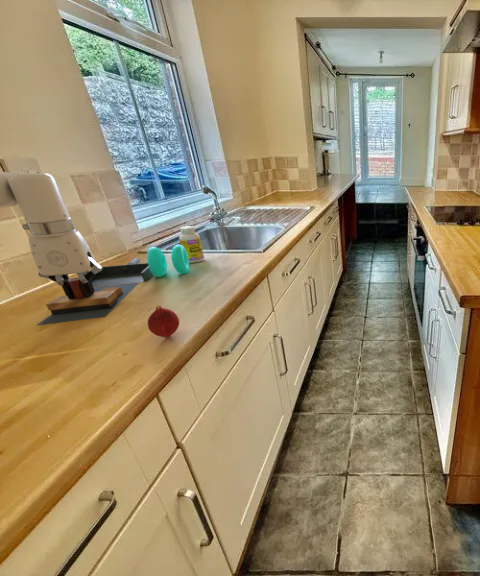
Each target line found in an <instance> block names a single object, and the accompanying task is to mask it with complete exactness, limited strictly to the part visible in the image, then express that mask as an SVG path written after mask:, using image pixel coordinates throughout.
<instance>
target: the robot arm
mask: <svg viewBox="0 0 480 576" xmlns="http://www.w3.org/2000/svg"><path fill="white" fill-rule="evenodd" d="M16 206H18V207H19V209H20V211H21V213H22V215H23V218H24V220H25V223H23V224H22V225H21V226H22V227H21V228H22V229H23V230H25V231H29V232H30V235H28V244H29V249H30V252H31V256H32V259H33V261H34V265H35V267H36V269H37V271H38V277H40V278H44V279H49V280H50V281H53V282H54V283H56V284H57V285H58V286H61V288H62V290H63V292H64V294H65V295H67V296H68V299H73V298H74V295H73V293H72V291H71V288H70V286H69V284H68V282H67V280H69V279H70V276H69V275H75V274H76V275H77V276H78V277H79V279H80V280H81V282H82V283H81V284H80V287H81V289H82V291H83V294H84V296H85V297H86V298H88V297H90V296H91V295H93V294H94V287H93V285H92V283H91V279H92V277H93V276H94V275H95V274H96V273H98V272H100V271H101V270H103V268H102V267H103V266H101V265H100V264H99V263H98V262H97V261H96V260H95V257H94V254H93V253H92V250H91V248H90V246H89V243H87V241H86V239H85V238H84V236H83V234H82V233H81V232H80V231H79V230H77V229H76V228H75V226H74V223H73V221H72V218H71V216H70V213H69V211H68V209H67V206H66V204H65V201H64V198H63V196H62V193H61V191H60V189H59V186H58V184H57V182H56V179H55V178H54V177H53V176H52V175H51V174H49V173H47V172H46V173H45V172H25V173H16V172H9V171H0V209H4V208H9V207H10V208H11V207H16ZM90 270H91V271H90Z"/></svg>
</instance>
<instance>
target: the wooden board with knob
mask: <svg viewBox="0 0 480 576" xmlns="http://www.w3.org/2000/svg"><path fill="white" fill-rule="evenodd" d="M67 282H68V284H69V286H70V288H71V291H72V293H73V295H74V298H73V299H68V296H67V295H66V294H65V295H57V296H56V297H54V298H53V299H51V300H50V301H48V302H46V303H45V305H46V308H47V310H48V311H50V312H51V314H52V315H57V314H66V313H75V312H83V311H92V310H101V309H109V308H111V307H112V306H113V305H115V304H116V303H117V302H118V300H117V294H116V291H115V290H112V291H103V292H94V294H93V295H91V296H90V297H88V298H86V297H85V296H84V294H83V291H82V289H81V287H80V284H81V283H82V282H81V280H80V279H79V277H72V278H69V280H67Z"/></svg>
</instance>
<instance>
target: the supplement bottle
mask: <svg viewBox="0 0 480 576" xmlns="http://www.w3.org/2000/svg"><path fill="white" fill-rule="evenodd" d="M179 231H180V233H181V234H179V236H178V240H179V245H182V246H183V247H184V248H185V250H186V252H187V255H188V260H189V264H195V263H199V262H202V261H204V260H205V255H204V250H203V245H202V241H201V237H200V235H199V233H197V232H196V228H195V226H193V225H186V226H185V225H184V226H181V227H179Z"/></svg>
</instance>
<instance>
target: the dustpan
mask: <svg viewBox="0 0 480 576" xmlns="http://www.w3.org/2000/svg"><path fill="white" fill-rule="evenodd" d="M101 267H102V268H103V270H101V271H100V272H98V273H96V274H95V275H94V276H93V277H92V279H91V283H92V285H93V287H100V286H109V285H119V284H129V283H139V282H140V283H146V282H147V281H148V280H149V279H150V278H151V277H152V276H153V274H152V272H151V271H150V268H149V265H148V262H142V263H141V259H140V258H138V257H134V258H133V259H131V260H130V261H129V262H128V263H126V264H118V265H117V264H116V265H107V266H106V265H105V266H101ZM91 270H92V269H89V271H91Z"/></svg>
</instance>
